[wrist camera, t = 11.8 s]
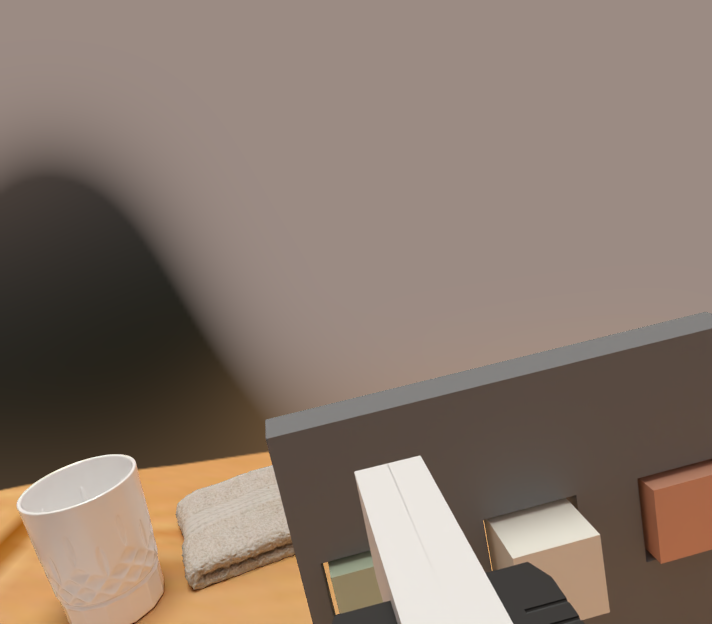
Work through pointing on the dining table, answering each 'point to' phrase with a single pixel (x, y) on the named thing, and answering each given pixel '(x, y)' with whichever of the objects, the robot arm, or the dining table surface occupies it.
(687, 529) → the terracotta button
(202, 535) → the washcloth
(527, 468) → the button panel
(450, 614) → the robot arm
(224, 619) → the dining table surface
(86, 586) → the white cup
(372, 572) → the sage button
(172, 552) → the dining table surface
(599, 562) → the ivory button
